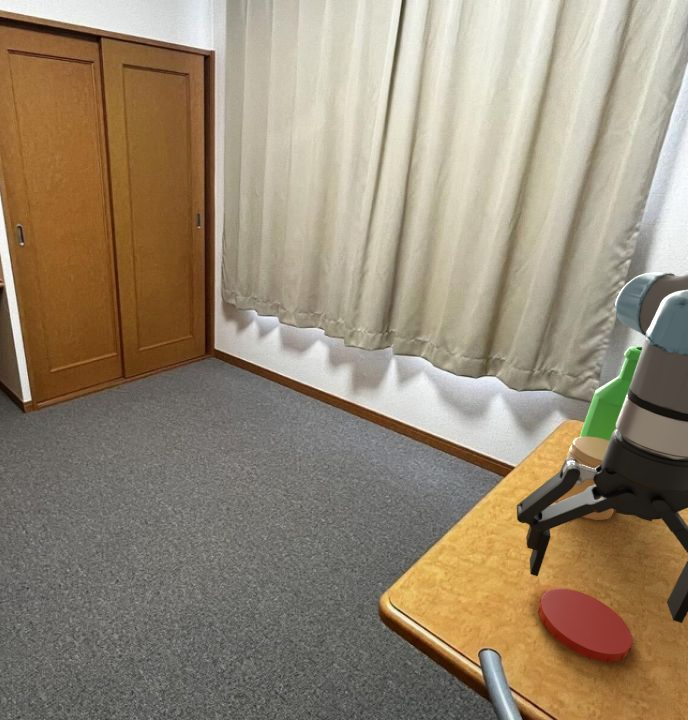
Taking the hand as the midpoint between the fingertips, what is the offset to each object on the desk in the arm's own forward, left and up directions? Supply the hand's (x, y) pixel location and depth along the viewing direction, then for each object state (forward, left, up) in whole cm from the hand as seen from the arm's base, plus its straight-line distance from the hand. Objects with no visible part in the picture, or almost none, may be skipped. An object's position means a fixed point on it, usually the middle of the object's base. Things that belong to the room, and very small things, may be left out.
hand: (599, 589), depth 58 cm
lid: (0, 0, -6) cm, 6 cm away
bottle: (-7, -41, -7) cm, 42 cm away
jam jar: (-3, -28, -7) cm, 29 cm away
